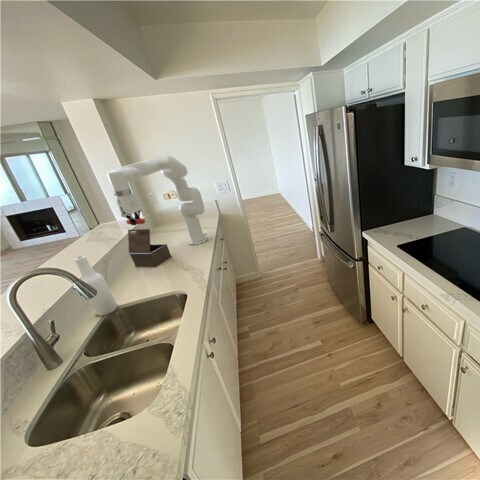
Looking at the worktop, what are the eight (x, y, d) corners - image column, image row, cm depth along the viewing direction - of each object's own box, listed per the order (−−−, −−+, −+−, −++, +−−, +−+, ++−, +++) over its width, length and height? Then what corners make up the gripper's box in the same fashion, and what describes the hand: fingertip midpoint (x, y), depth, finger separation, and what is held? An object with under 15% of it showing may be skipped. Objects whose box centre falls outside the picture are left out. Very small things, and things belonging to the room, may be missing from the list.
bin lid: (129, 229, 174) (121, 229, 169) (149, 229, 170) (142, 229, 165) (130, 253, 174) (122, 253, 170) (150, 253, 170) (143, 253, 166)
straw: (126, 225, 154) (124, 220, 153) (130, 223, 156) (128, 218, 155) (143, 224, 151) (141, 219, 150) (147, 222, 154) (145, 217, 153)
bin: (152, 256, 191) (147, 244, 187) (171, 256, 187) (166, 244, 183) (135, 266, 178) (129, 253, 174) (155, 266, 174) (150, 253, 170)
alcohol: (104, 306, 136) (77, 254, 124) (121, 303, 137) (96, 252, 125) (92, 317, 128) (61, 263, 116) (110, 314, 128) (82, 260, 117)
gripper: (116, 196, 138) (130, 229, 146) (141, 189, 153) (152, 218, 160) (105, 197, 140) (119, 229, 147) (130, 189, 155) (142, 219, 162)
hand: (136, 223), depth 154 cm, fingers closed on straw, 3 cm apart
